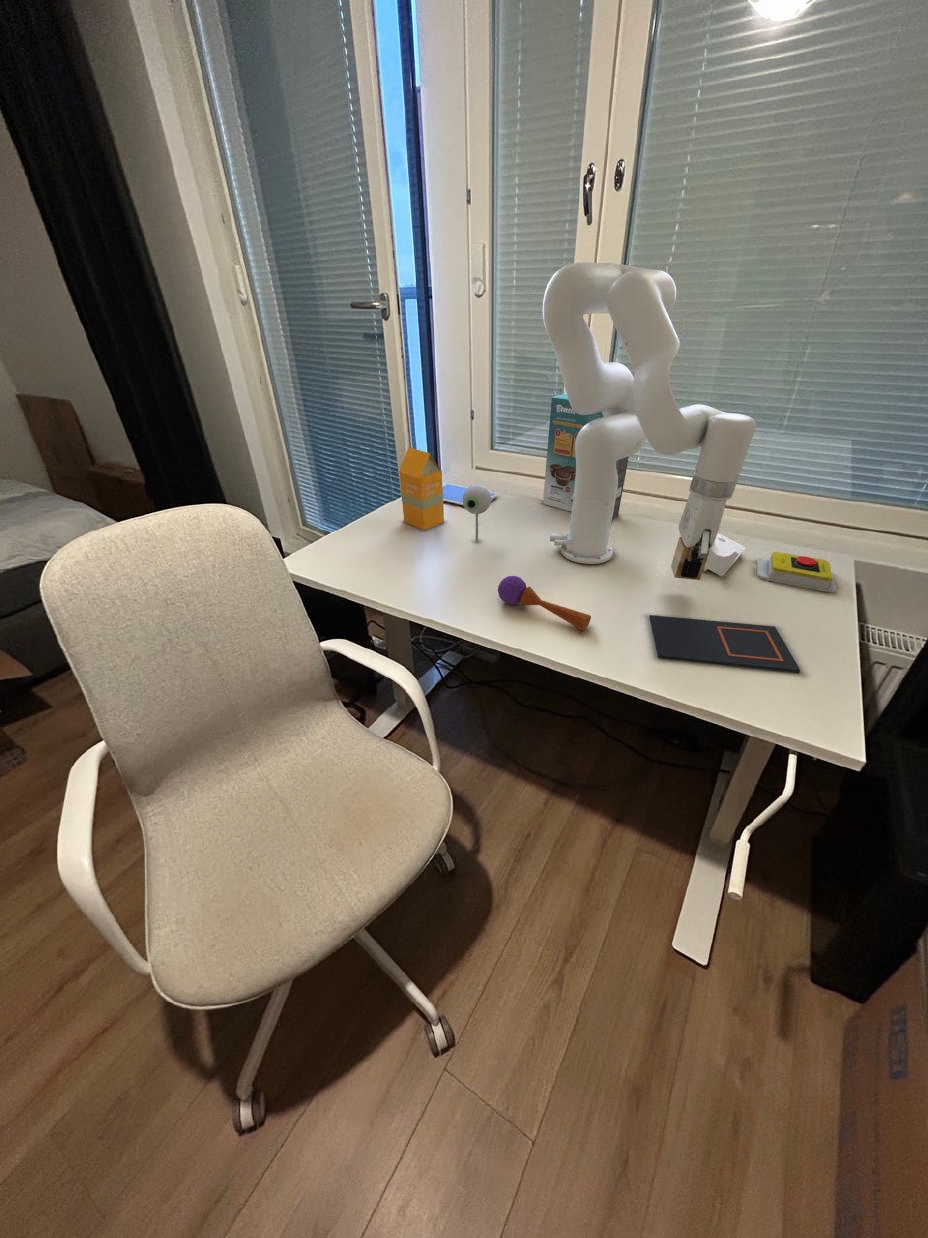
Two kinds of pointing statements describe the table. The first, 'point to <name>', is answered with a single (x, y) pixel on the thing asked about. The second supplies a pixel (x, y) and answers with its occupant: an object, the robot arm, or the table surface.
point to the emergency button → (797, 571)
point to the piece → (680, 557)
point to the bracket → (723, 555)
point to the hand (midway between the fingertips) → (686, 569)
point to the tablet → (456, 494)
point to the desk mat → (721, 643)
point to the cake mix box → (569, 456)
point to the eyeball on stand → (476, 501)
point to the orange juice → (421, 490)
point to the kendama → (538, 601)
